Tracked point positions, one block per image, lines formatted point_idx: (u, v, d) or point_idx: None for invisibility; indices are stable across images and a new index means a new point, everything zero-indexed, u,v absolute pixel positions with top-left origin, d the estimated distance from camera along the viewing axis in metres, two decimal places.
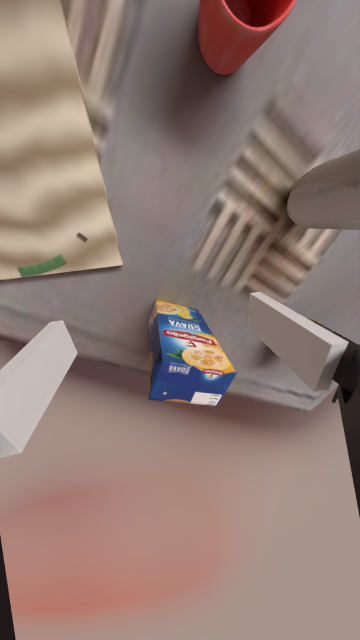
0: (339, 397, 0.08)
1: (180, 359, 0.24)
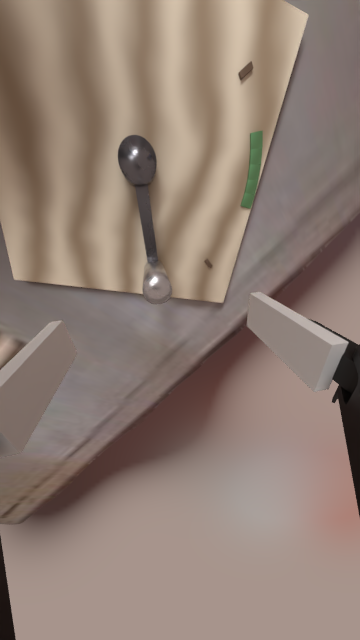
0: (339, 397, 0.08)
1: None
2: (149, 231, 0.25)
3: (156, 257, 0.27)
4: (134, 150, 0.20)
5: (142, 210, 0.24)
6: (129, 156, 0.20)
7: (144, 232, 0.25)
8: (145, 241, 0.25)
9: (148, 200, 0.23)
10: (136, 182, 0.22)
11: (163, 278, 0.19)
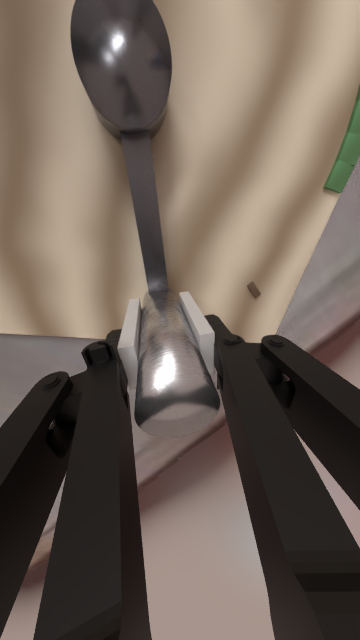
0: (219, 385, 0.09)
1: None
2: (153, 235, 0.12)
3: (165, 285, 0.14)
4: (116, 26, 0.08)
5: (138, 192, 0.11)
6: (102, 43, 0.08)
7: (142, 238, 0.12)
8: (144, 256, 0.13)
9: (151, 170, 0.11)
10: (122, 120, 0.09)
11: (198, 384, 0.06)
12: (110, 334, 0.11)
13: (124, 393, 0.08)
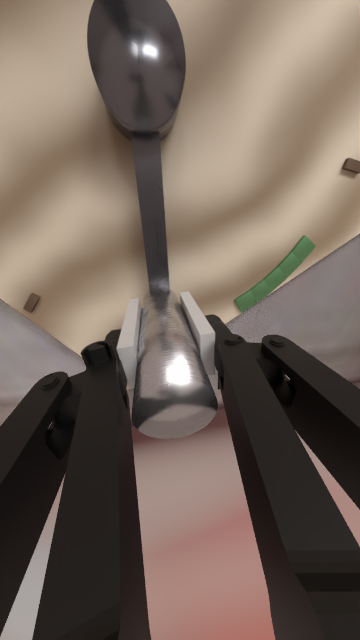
0: (219, 385, 0.09)
1: None
2: (157, 236, 0.12)
3: (167, 286, 0.14)
4: (132, 29, 0.08)
5: (145, 192, 0.11)
6: (118, 44, 0.08)
7: (146, 238, 0.12)
8: (147, 256, 0.13)
9: (159, 171, 0.11)
10: (133, 121, 0.09)
11: (197, 386, 0.06)
12: (110, 334, 0.11)
13: (124, 393, 0.08)
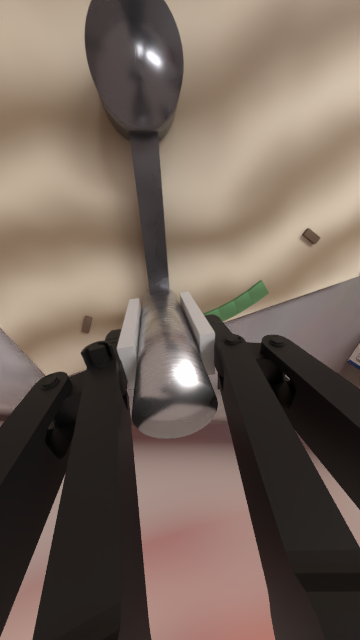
0: (219, 385, 0.09)
1: None
2: (157, 236, 0.12)
3: (166, 285, 0.14)
4: (130, 28, 0.08)
5: (144, 192, 0.11)
6: (115, 44, 0.08)
7: (146, 238, 0.12)
8: (147, 256, 0.13)
9: (158, 171, 0.11)
10: (132, 121, 0.09)
11: (197, 385, 0.06)
12: (110, 334, 0.11)
13: (124, 393, 0.08)
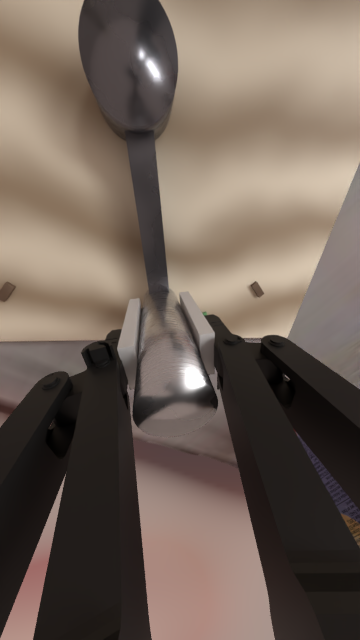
0: (219, 385, 0.09)
1: None
2: (155, 235, 0.12)
3: (166, 285, 0.14)
4: (123, 28, 0.08)
5: (141, 192, 0.11)
6: (109, 44, 0.08)
7: (144, 238, 0.12)
8: (146, 255, 0.13)
9: (155, 170, 0.11)
10: (127, 120, 0.09)
11: (197, 384, 0.06)
12: (110, 334, 0.11)
13: (124, 393, 0.08)
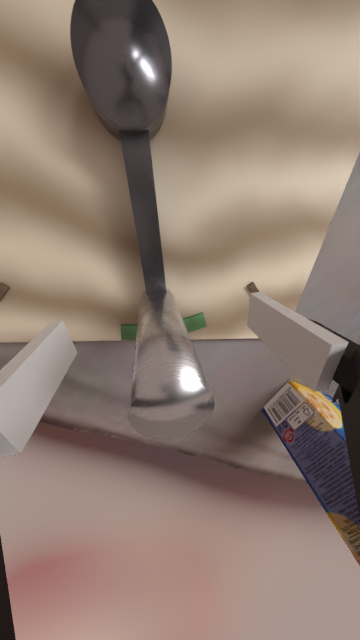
0: (339, 397, 0.08)
1: None
2: (151, 236, 0.12)
3: (163, 285, 0.14)
4: (116, 26, 0.08)
5: (136, 192, 0.11)
6: (102, 43, 0.08)
7: (140, 238, 0.12)
8: (142, 256, 0.13)
9: (150, 170, 0.11)
10: (121, 120, 0.09)
11: (192, 385, 0.06)
12: None
13: None
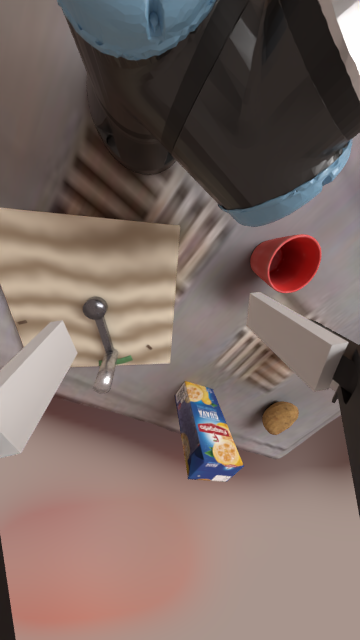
0: (339, 397, 0.08)
1: (213, 458, 0.38)
2: (105, 337, 0.41)
3: (111, 350, 0.43)
4: (92, 306, 0.36)
5: (100, 328, 0.40)
6: (89, 309, 0.36)
7: (102, 338, 0.41)
8: (103, 342, 0.41)
9: (103, 324, 0.39)
10: (94, 319, 0.38)
11: (104, 382, 0.35)
12: None
13: None
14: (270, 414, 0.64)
